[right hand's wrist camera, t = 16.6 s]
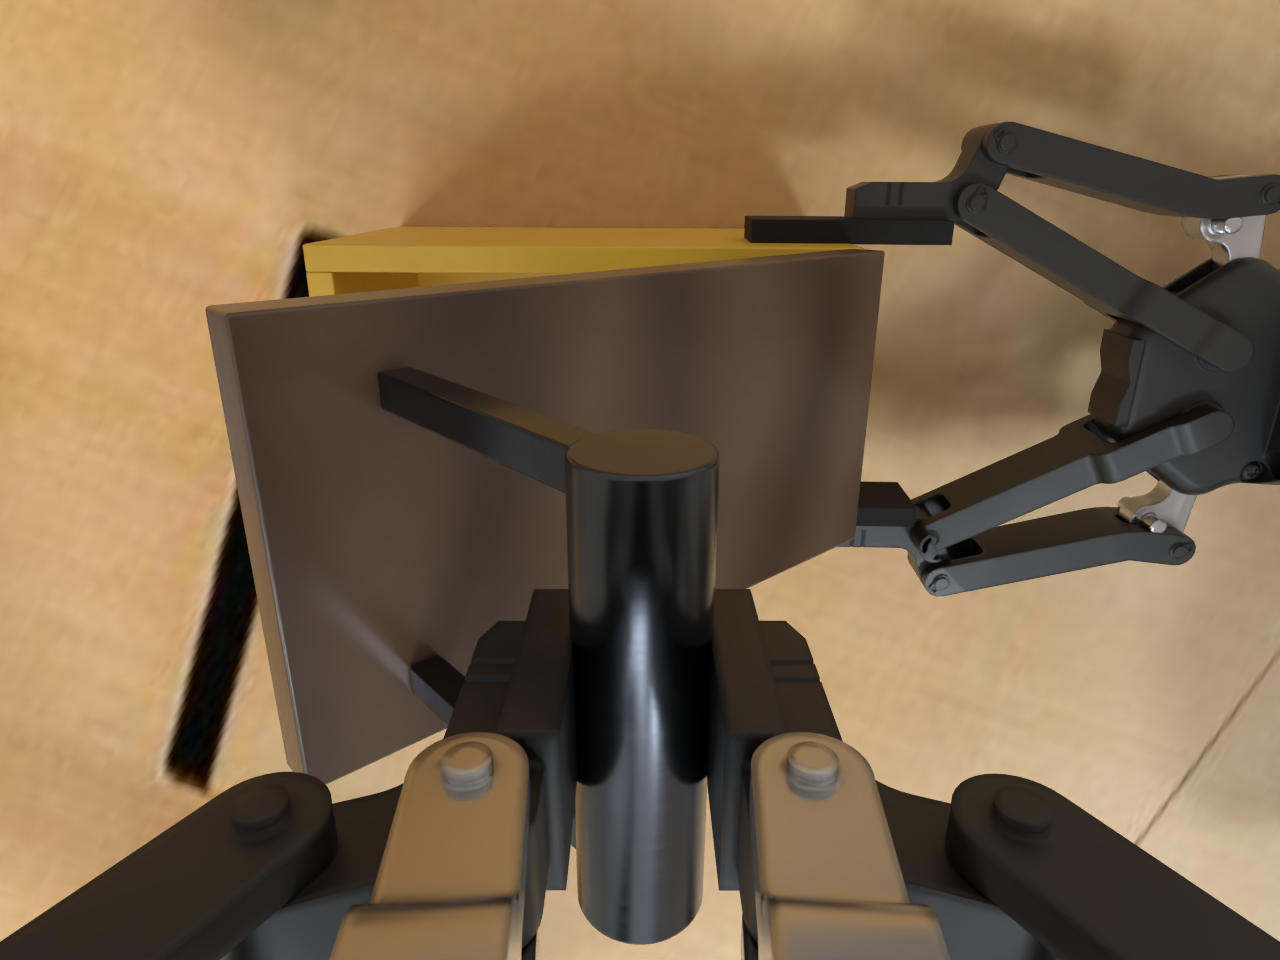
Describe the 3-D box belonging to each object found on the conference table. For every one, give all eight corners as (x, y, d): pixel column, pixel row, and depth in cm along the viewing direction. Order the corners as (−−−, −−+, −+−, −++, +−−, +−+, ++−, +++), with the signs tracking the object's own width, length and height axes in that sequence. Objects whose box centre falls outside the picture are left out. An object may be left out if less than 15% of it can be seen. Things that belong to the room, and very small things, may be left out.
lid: (286, 764, 17) (533, 1115, 10) (204, 305, 13) (489, 418, 7) (826, 528, 28) (1099, 629, 22) (852, 248, 25) (1181, 273, 19)
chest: (419, 434, 38) (338, 517, 29) (399, 226, 35) (301, 244, 26) (795, 439, 38) (837, 526, 28) (811, 228, 34) (864, 248, 25)
